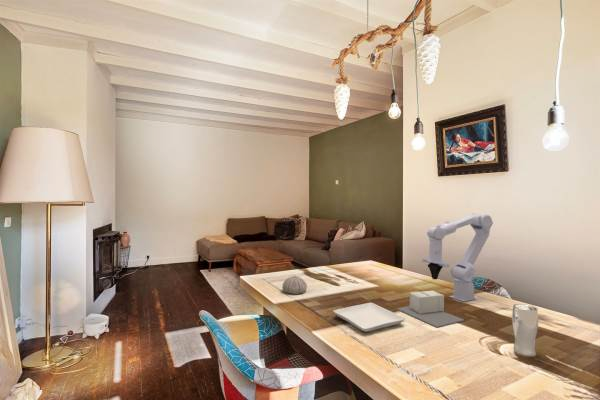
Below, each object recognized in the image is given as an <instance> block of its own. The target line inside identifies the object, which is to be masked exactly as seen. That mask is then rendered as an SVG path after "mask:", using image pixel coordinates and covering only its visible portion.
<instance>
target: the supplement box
mask: <svg viewBox="0 0 600 400" xmlns="http://www.w3.org/2000/svg"><path fill="white" fill-rule="evenodd" d="M409 306H410V308H411V309H412V310H414V311H416V312H418V313H419V314H422V313H431V312H440V311H443V312H445V295H444V294H441V293H439V292H437V291H435V290H426V291H414V292H412V291H411V292H409Z"/></svg>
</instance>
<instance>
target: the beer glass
mask: <svg viewBox="0 0 600 400" xmlns="http://www.w3.org/2000/svg"><path fill="white" fill-rule="evenodd" d="M538 311H539V310H538V308H537V307H535V306H534V305H530V304H525V303H515V304H513V305H512V312H511V313H512V317H511V319H512V327H513V333H514V345H513V349H512V350H513V352H515V353H516V354H518V355H520V356H524V357H528V358H533V357H536V355H537V351H536V348H535V347H536V346H535V342H536V337H537V334H538V329H539V314H538V313H539V312H538Z"/></svg>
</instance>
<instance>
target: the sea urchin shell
mask: <svg viewBox="0 0 600 400" xmlns="http://www.w3.org/2000/svg"><path fill="white" fill-rule="evenodd" d="M281 287H282V290H283V292H285V293H287V294H290V295H298V294H299V295H301V294H304V293H305V292H306V291H307V289H308V284H307V283H306V281H305V280H304V279H303V278H302V277H300V276H297V275H294V276H288V278H286V279H285V280H284V281H283V283H282V286H281Z"/></svg>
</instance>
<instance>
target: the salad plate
mask: <svg viewBox="0 0 600 400" xmlns="http://www.w3.org/2000/svg"><path fill="white" fill-rule="evenodd" d="M333 313H334V314H335V315H336V316H337V317H338V318H340V319H342V320H344V321H346V322H347V323H349V324H350V325H352V326H354V327H355V328H357V329H359V330H361V331H362V332H366V333H368V332H372V331H376V330H379V329H385V328H388V327H391V326H396V325H399V324H401V323H403V322H404V321H405V320H406V319H405V317H403V316H401V315H398V314H397V313H395V312H393V311H391V310H389V309H387V308H384V307H382V306H380V305H378V304H376V303H374V302H367V303H361V304H357V305H352V306H351V305H350V306H347V307H342V308H338V309H334V310H333Z"/></svg>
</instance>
